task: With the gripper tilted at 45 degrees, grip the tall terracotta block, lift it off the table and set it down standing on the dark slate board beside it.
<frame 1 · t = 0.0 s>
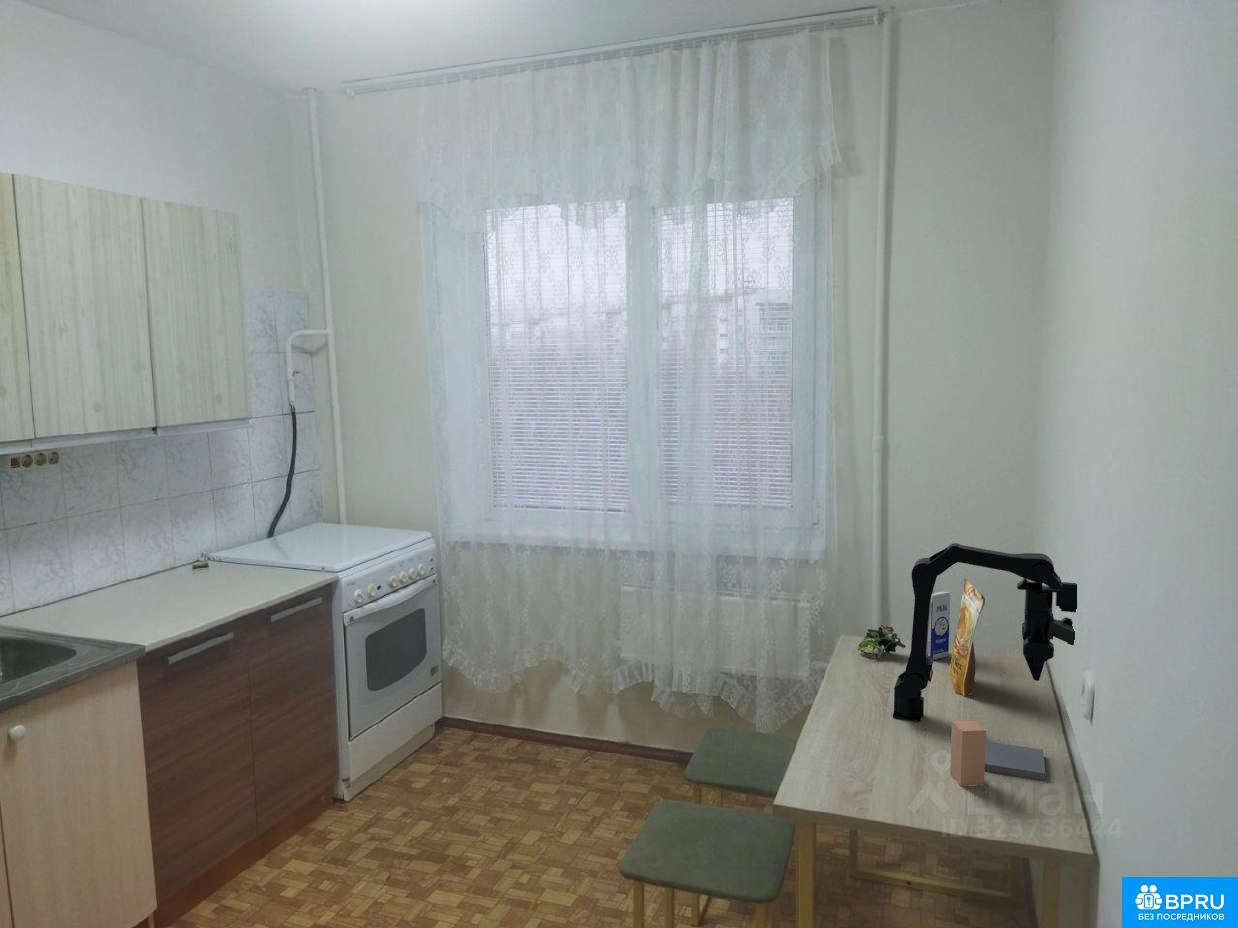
hand: (1035, 673, 202), 15 cm above the table, tool pointing down, fingers open, 9 cm apart
pancake mix bag: (964, 686, 234), on the table
milk carton: (931, 656, 258), on the table
green leafy clump: (880, 656, 258), on the table
slate board: (1013, 762, 189), on the table
terracotta block: (966, 779, 182), on the table
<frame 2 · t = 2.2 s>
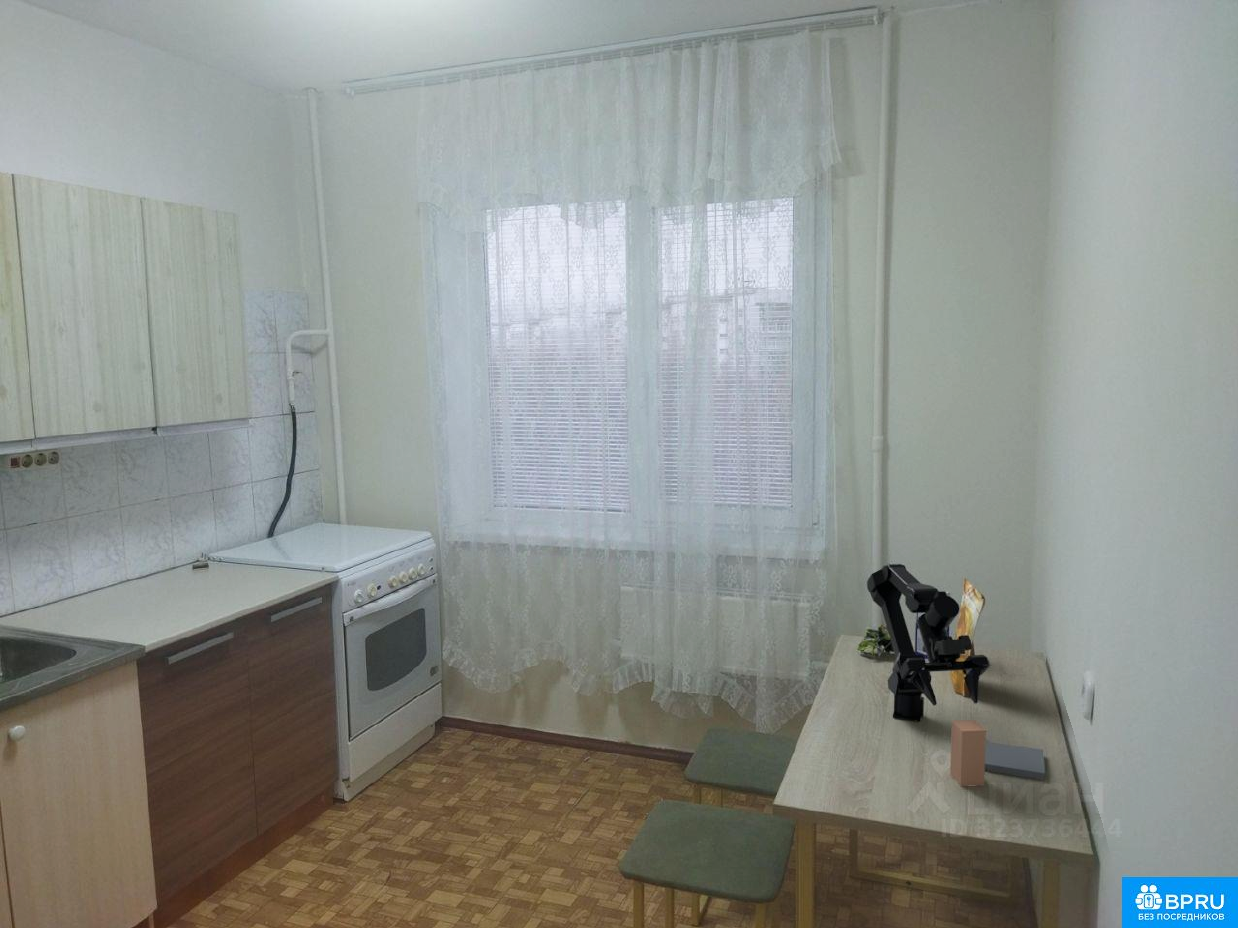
hand: (955, 703, 189), 13 cm above the table, tool tilted 45°, fingers open, 9 cm apart
nothing on the table moved.
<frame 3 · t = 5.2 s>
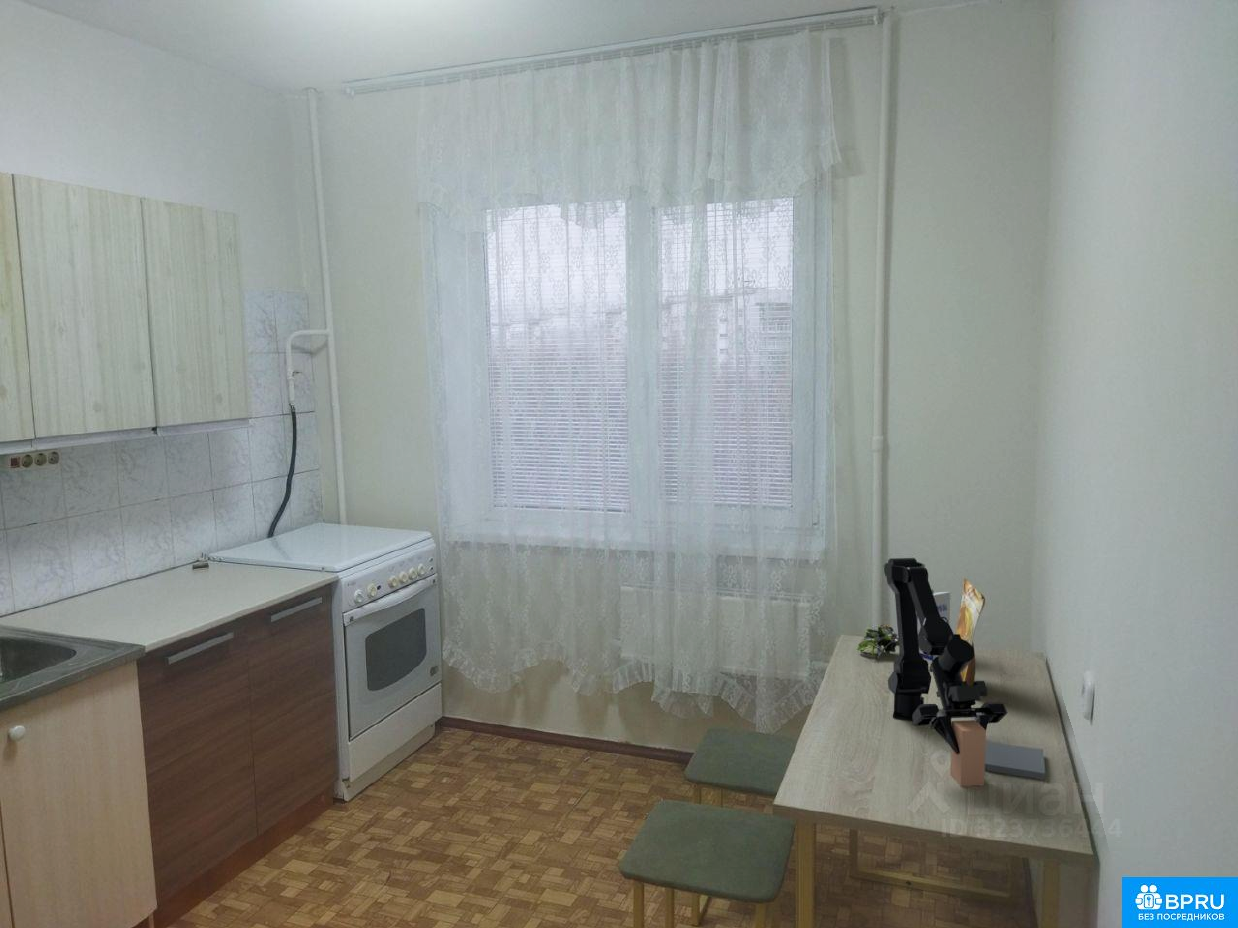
hand: (970, 753, 180), 7 cm above the table, tool tilted 45°, fingers closed on terracotta block, 5 cm apart
terracotta block: (966, 779, 182), on the table, touching gripper
everything else where it was.
when the fingers open (9 cm above the table, at t = 10.5 s): terracotta block stays where it is, resting on slate board.
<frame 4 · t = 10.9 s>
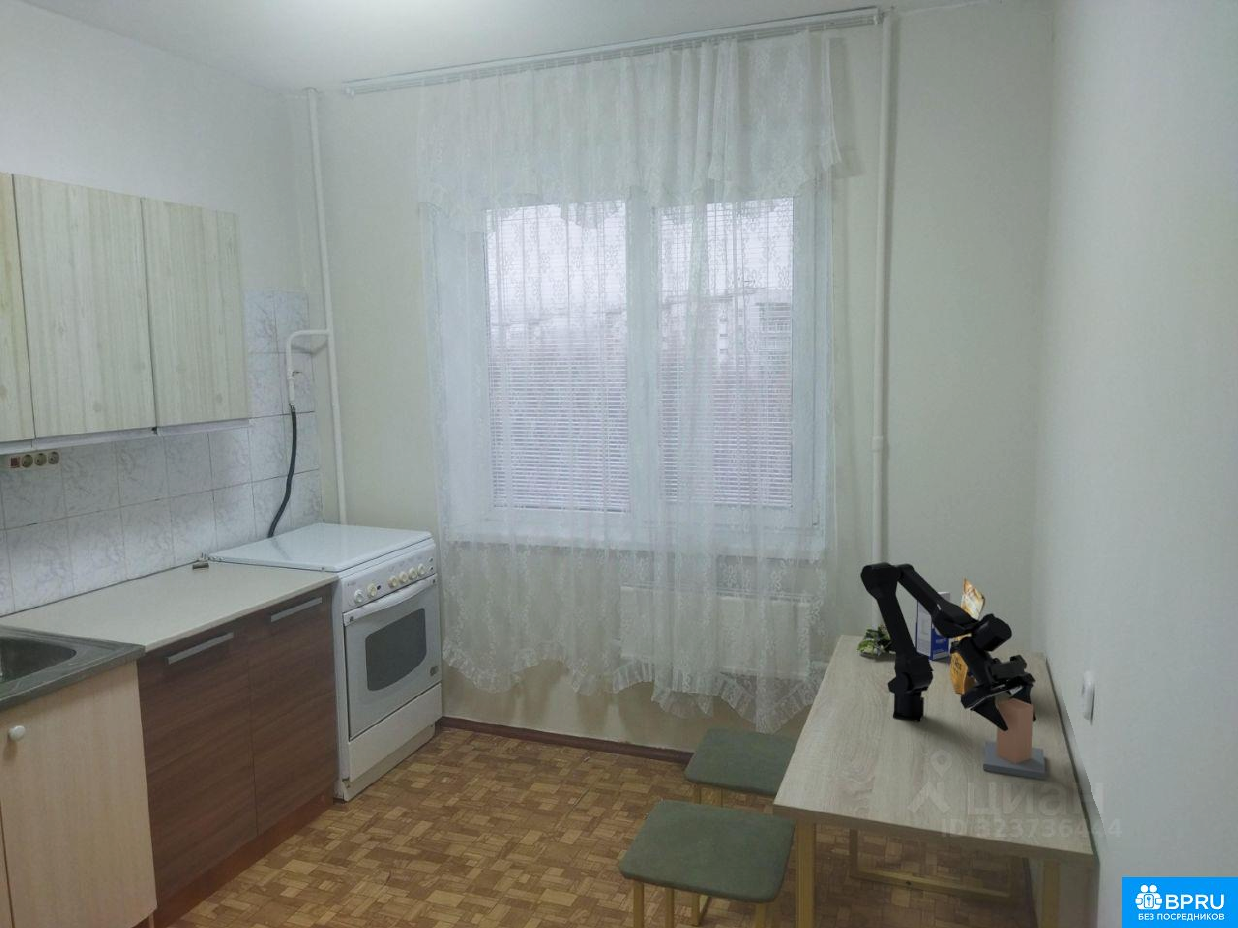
hand: (1020, 725, 187), 9 cm above the table, tool tilted 45°, fingers open, 9 cm apart
terracotta block: (1013, 756, 189), point 1 cm above the table, touching slate board
everything else where it was.
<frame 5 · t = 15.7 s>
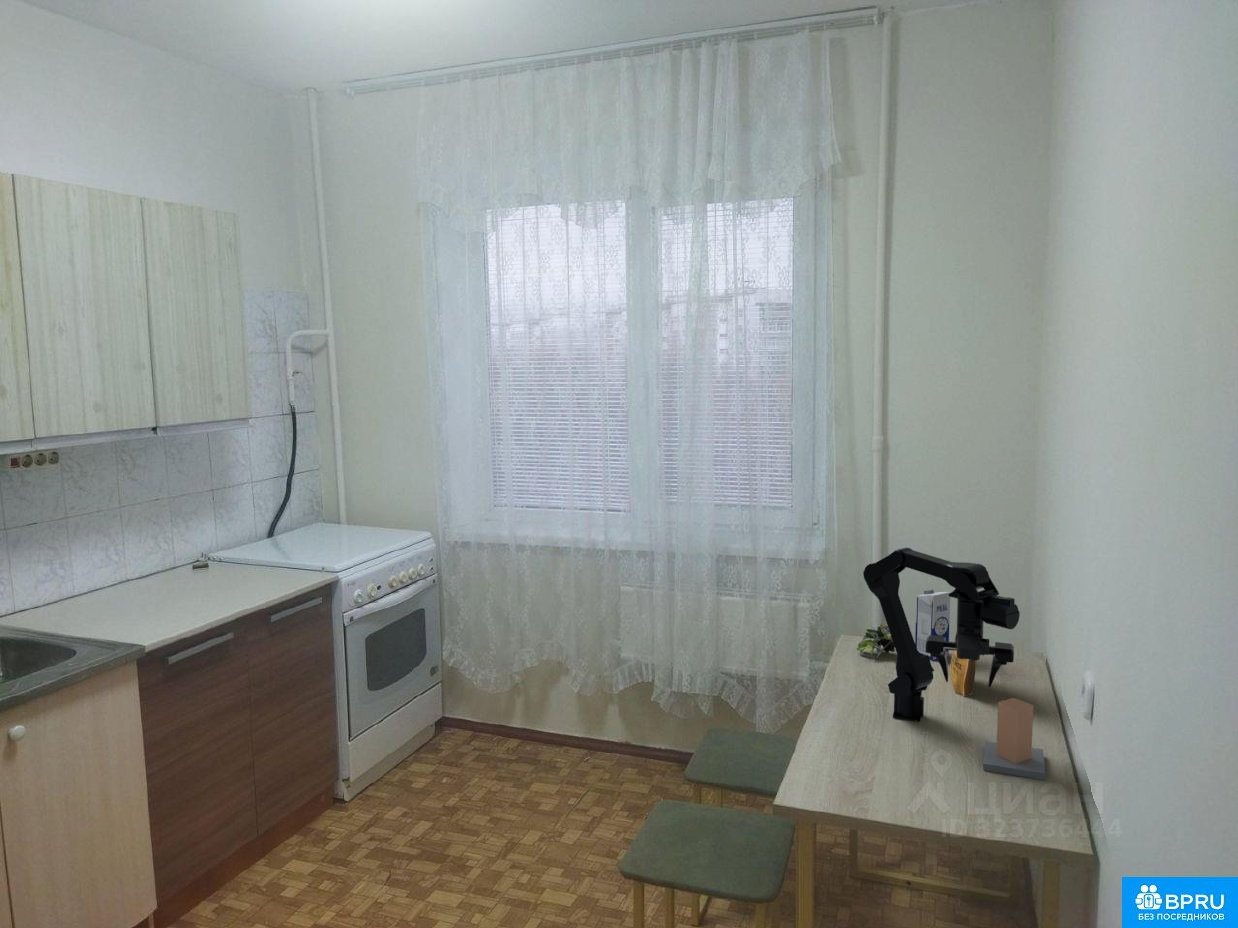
hand: (968, 683, 201), 13 cm above the table, tool pointing down, fingers open, 9 cm apart
nothing on the table moved.
at the end: terracotta block inside the target area on the slate board (0.0 cm from its centre), point 1.5 cm above the slate board's base; terracotta block tilted 0°; the gripper is holding nothing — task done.
